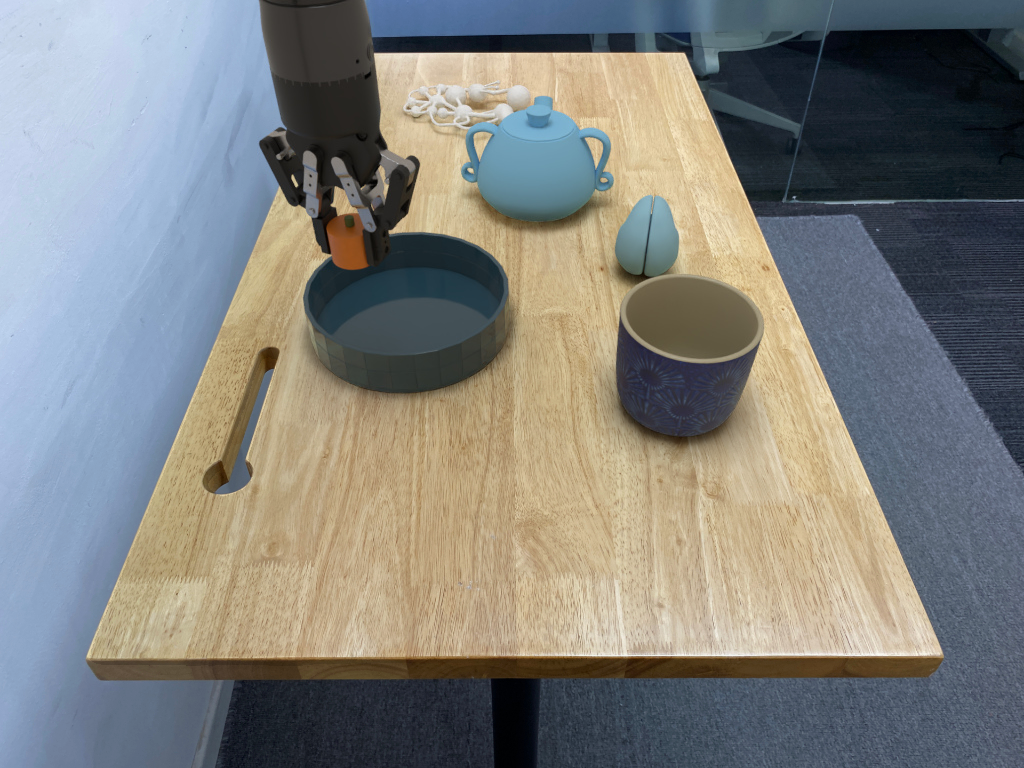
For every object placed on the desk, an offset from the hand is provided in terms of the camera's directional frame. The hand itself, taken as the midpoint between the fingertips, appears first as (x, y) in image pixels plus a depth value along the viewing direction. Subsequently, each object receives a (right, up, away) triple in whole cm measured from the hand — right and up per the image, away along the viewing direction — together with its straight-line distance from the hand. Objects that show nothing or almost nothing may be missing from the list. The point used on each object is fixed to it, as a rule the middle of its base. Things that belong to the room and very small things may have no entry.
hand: (355, 254), depth 67 cm
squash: (0, 0, 0) cm, 0 cm away
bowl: (+3, -5, +16) cm, 17 cm away
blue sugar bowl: (+17, +14, +36) cm, 42 cm away
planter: (+29, -13, +7) cm, 33 cm away
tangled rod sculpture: (+7, +30, +52) cm, 61 cm away
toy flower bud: (+30, +3, +25) cm, 39 cm away
